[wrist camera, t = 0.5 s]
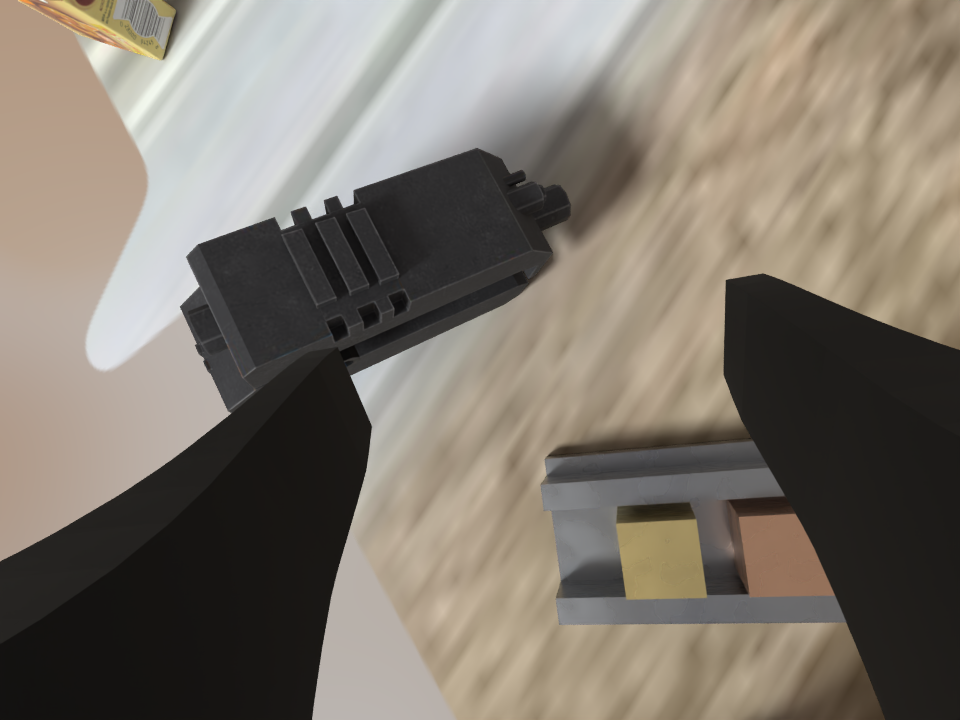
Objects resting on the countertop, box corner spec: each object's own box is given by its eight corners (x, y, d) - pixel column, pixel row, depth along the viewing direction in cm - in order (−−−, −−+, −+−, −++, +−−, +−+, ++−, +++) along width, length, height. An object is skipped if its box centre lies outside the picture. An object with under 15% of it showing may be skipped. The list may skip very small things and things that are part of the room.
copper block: (813, 564, 31) (840, 595, 27) (735, 566, 32) (749, 597, 28) (803, 491, 31) (828, 512, 27) (725, 496, 32) (738, 517, 28)
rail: (855, 610, 31) (883, 642, 28) (568, 614, 35) (561, 642, 32) (830, 431, 31) (854, 441, 28) (547, 456, 35) (538, 467, 32)
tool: (225, 349, 38) (127, 251, 22) (491, 238, 44) (563, 99, 28) (266, 438, 37) (194, 401, 21) (531, 313, 43) (628, 212, 27)
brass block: (698, 568, 32) (707, 597, 28) (626, 570, 33) (626, 599, 29) (688, 499, 32) (696, 519, 28) (617, 503, 33) (616, 523, 29)
